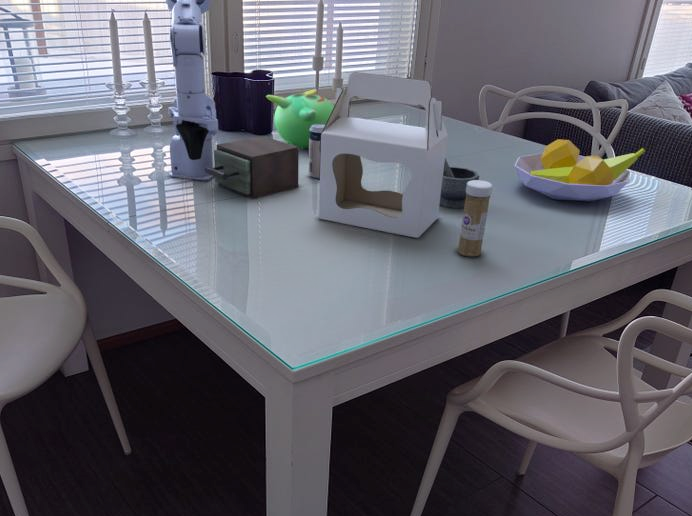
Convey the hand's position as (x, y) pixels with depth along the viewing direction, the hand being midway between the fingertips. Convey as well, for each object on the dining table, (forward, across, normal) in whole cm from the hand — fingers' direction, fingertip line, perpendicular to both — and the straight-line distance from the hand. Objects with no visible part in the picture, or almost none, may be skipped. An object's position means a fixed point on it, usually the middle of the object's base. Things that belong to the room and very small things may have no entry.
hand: (195, 158), depth 146 cm
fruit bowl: (+9, +50, +72) cm, 88 cm away
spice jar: (+9, +4, +33) cm, 34 cm away
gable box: (+9, +33, +22) cm, 41 cm away
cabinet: (+9, 0, +17) cm, 19 cm away
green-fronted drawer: (+8, 0, +13) cm, 15 cm away
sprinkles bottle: (+9, +56, +22) cm, 61 cm away
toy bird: (+9, -18, +49) cm, 53 cm away
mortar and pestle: (+9, +36, +42) cm, 57 cm away
